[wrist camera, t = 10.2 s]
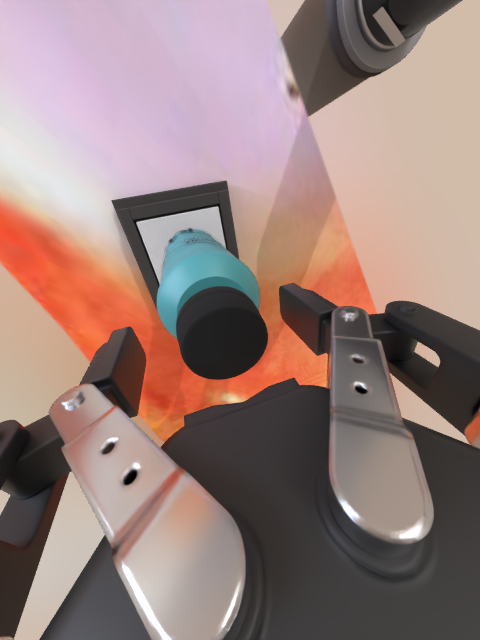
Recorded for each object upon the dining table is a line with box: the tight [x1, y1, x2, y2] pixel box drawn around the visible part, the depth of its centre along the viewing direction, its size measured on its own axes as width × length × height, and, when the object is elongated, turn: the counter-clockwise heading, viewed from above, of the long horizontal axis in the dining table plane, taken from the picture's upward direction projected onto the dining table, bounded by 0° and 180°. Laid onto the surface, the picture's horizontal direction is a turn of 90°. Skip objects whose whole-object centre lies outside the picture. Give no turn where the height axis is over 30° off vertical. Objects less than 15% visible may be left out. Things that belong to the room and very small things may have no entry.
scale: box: [112, 181, 239, 311], centre depth 27 cm, size 14×13×3 cm
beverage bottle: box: [157, 227, 268, 380], centre depth 17 cm, size 6×7×20 cm
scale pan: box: [136, 206, 226, 283], centre depth 26 cm, size 9×9×2 cm
